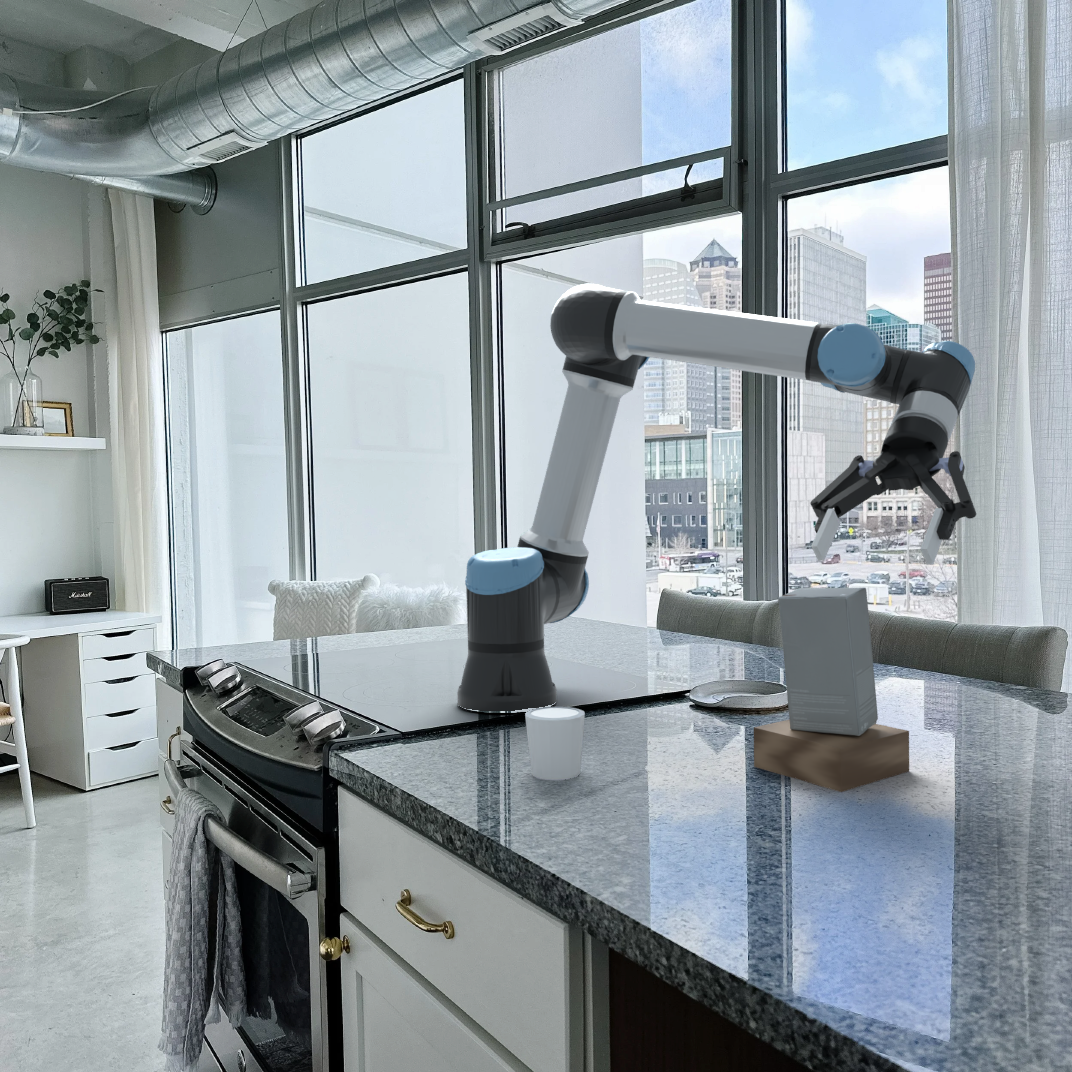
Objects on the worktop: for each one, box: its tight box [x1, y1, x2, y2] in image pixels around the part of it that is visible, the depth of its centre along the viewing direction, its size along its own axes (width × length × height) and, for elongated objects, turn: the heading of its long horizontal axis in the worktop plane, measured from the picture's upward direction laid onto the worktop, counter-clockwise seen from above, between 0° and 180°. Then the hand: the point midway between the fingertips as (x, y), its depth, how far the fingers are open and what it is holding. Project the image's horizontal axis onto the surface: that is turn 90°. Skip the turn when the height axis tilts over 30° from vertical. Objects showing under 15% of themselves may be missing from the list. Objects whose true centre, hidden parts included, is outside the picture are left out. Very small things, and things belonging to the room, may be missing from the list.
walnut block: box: [753, 719, 910, 793], centre depth 108 cm, size 12×12×5 cm
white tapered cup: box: [524, 706, 586, 781], centre depth 108 cm, size 7×7×7 cm
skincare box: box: [777, 586, 879, 736], centre depth 107 cm, size 8×7×16 cm
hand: (869, 555), depth 115 cm, fingers open, 13 cm apart
